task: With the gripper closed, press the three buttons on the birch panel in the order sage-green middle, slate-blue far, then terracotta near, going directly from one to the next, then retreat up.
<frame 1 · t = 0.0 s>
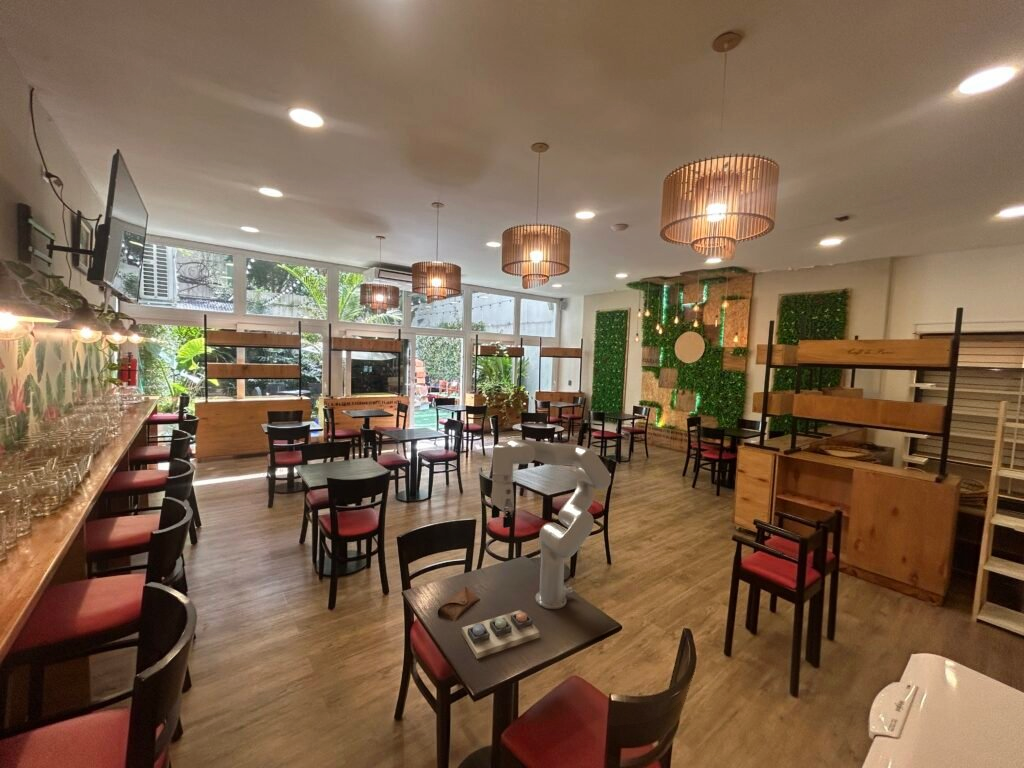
hand: (501, 522, 155), 37 cm above the table, tool pointing down, fingers open, 9 cm apart
sunglasses case: (459, 608, 163), on the table
slate button: (478, 631, 143), point 4 cm above the table, slide at 0.0 cm
terracotta button: (521, 618, 151), point 4 cm above the table, slide at 0.0 cm
sage button: (500, 624, 147), point 4 cm above the table, slide at 0.0 cm
button panel: (500, 635, 147), on the table
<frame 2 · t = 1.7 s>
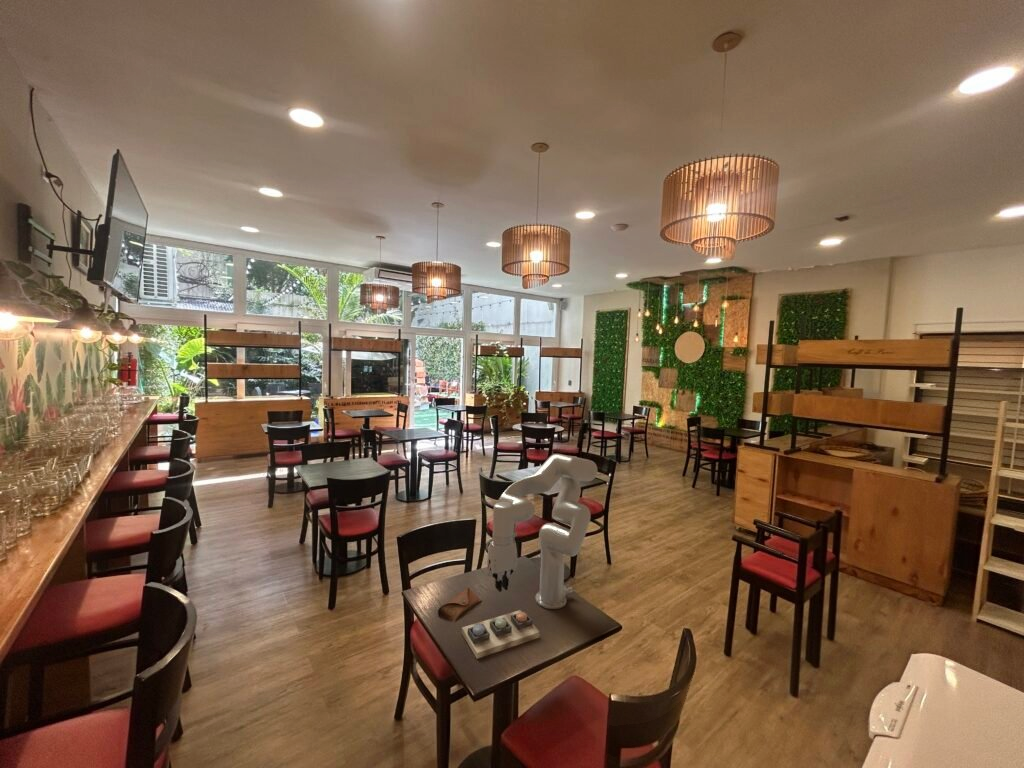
hand: (501, 588, 146), 17 cm above the table, tool pointing down, fingers closed
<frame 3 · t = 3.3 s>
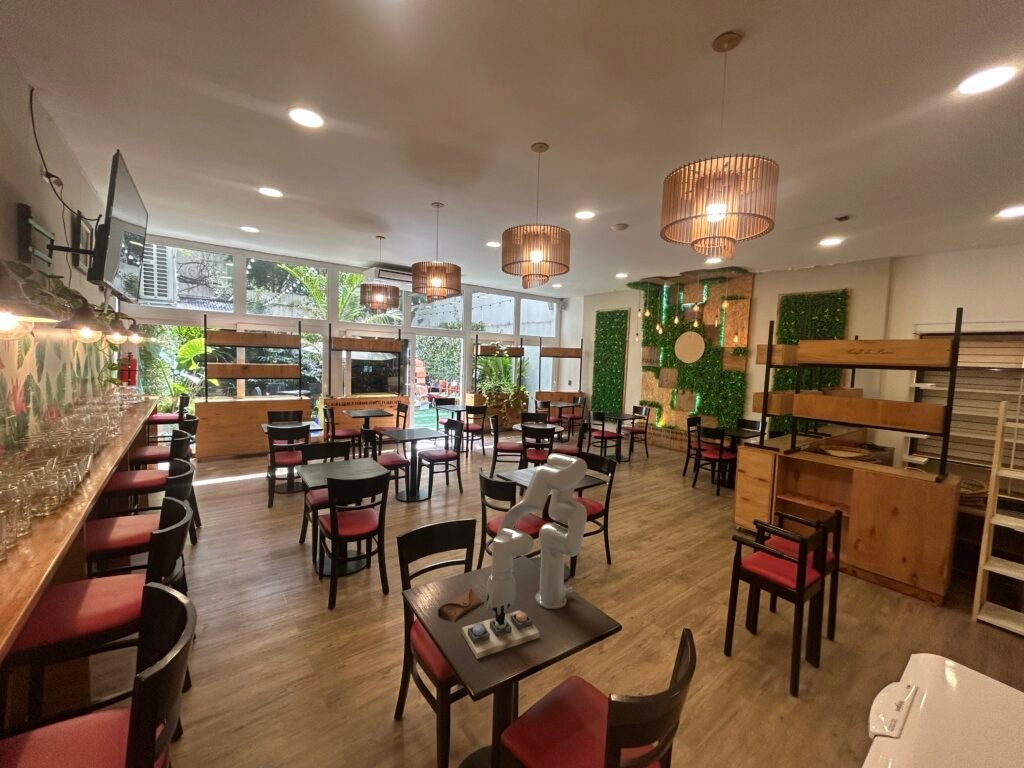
hand: (500, 622, 146), 5 cm above the table, tool pointing down, fingers closed
sage button: (500, 624, 147), point 4 cm above the table, slide at 0.1 cm, touching gripper
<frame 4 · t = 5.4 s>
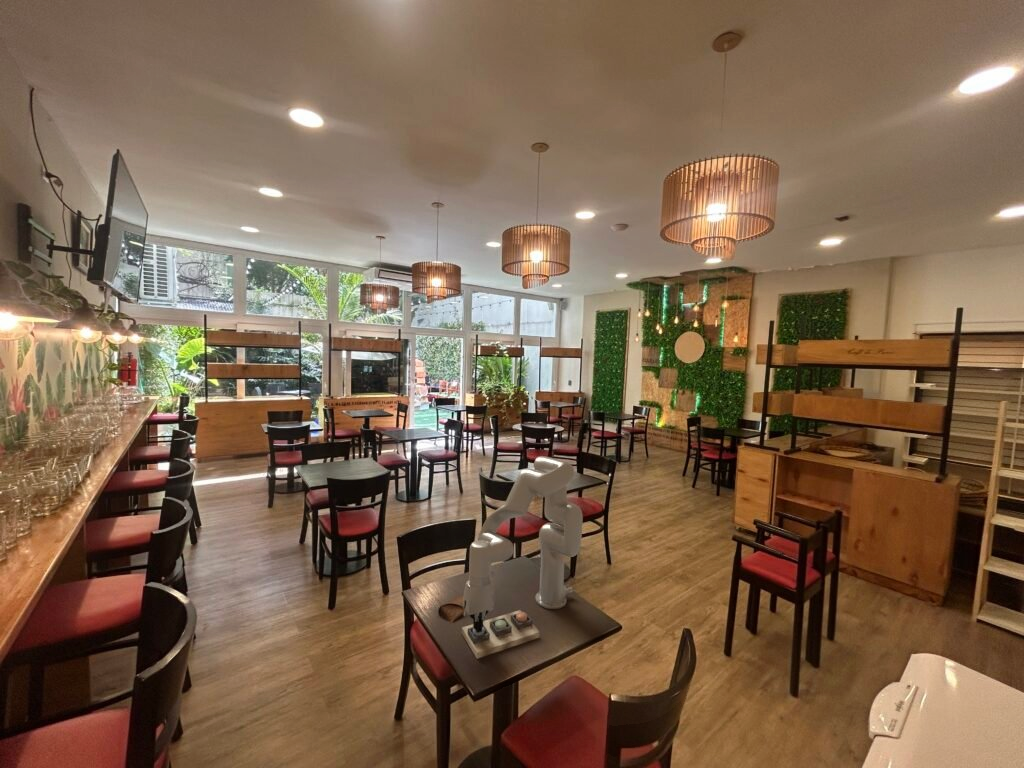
hand: (477, 629, 143), 5 cm above the table, tool pointing down, fingers closed
slate button: (478, 632, 143), point 4 cm above the table, slide at 0.3 cm, touching gripper
sage button: (500, 626, 147), point 3 cm above the table, slide at 0.6 cm
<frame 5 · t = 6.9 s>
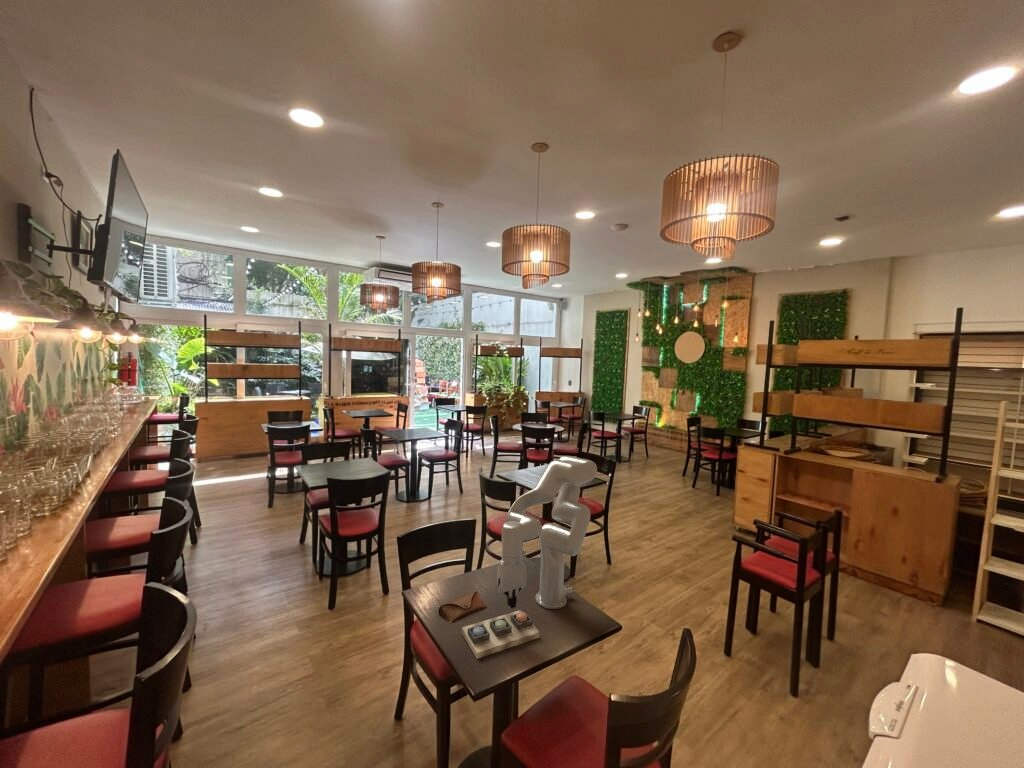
hand: (511, 605, 149), 9 cm above the table, tool pointing down, fingers closed
slate button: (478, 633, 143), point 3 cm above the table, slide at 0.6 cm
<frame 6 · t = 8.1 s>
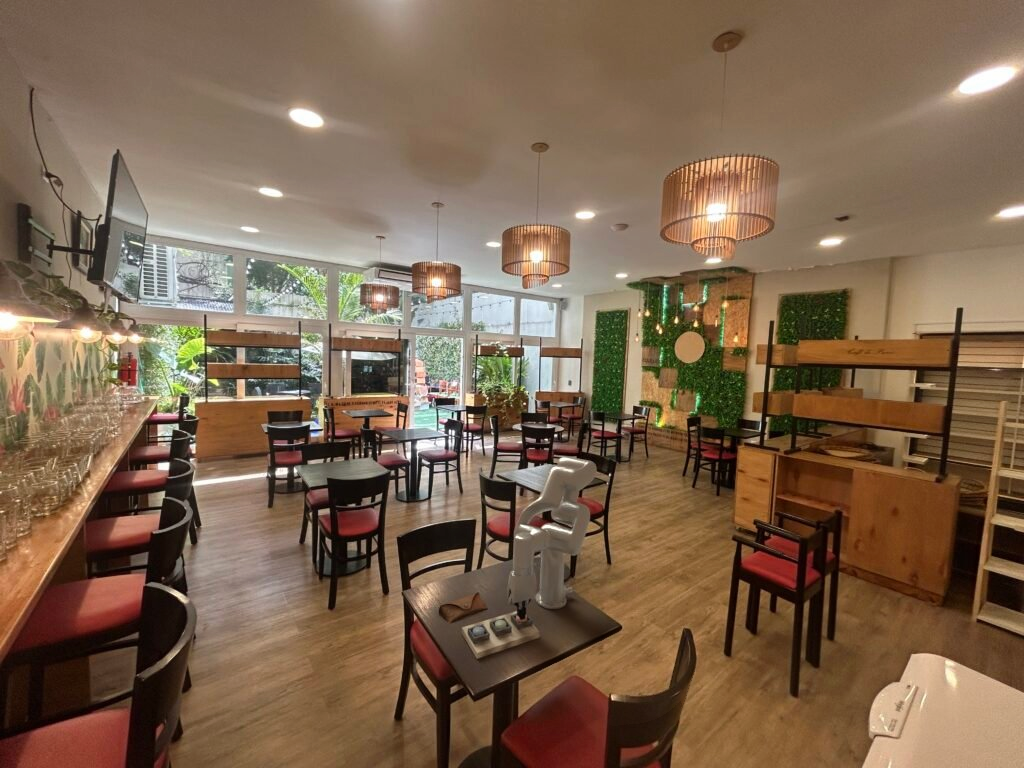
hand: (521, 617, 151), 4 cm above the table, tool pointing down, fingers closed
terracotta button: (521, 619, 151), point 3 cm above the table, slide at 0.6 cm, touching gripper
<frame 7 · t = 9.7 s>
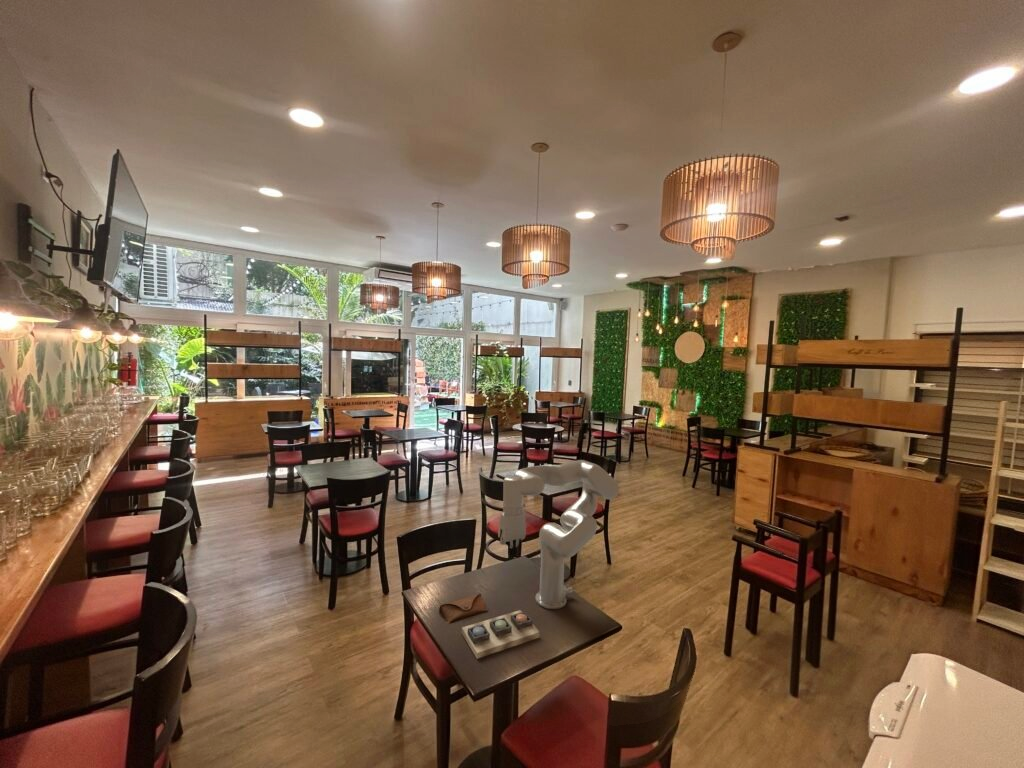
hand: (512, 556, 157), 23 cm above the table, tool pointing down, fingers closed
terracotta button: (521, 619, 151), point 3 cm above the table, slide at 0.6 cm
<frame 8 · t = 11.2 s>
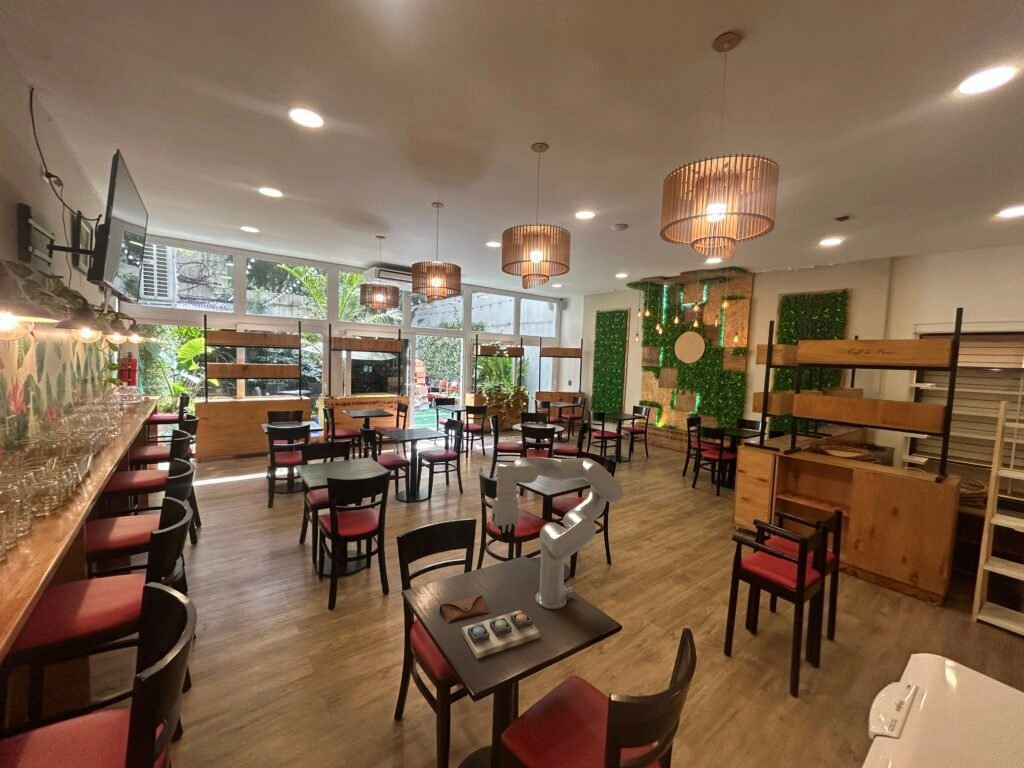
hand: (504, 540, 161), 27 cm above the table, tool pointing down, fingers closed
at the end: sage button slide at 0.6 cm; slate button slide at 0.6 cm; terracotta button slide at 0.6 cm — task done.
